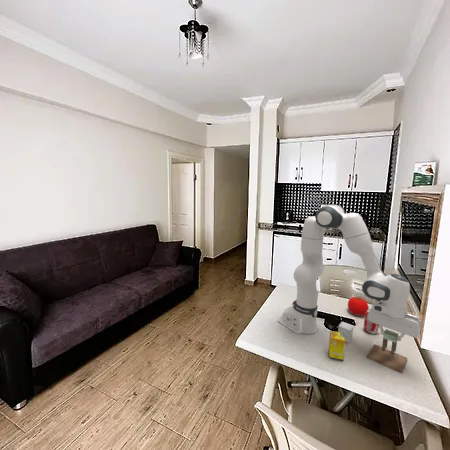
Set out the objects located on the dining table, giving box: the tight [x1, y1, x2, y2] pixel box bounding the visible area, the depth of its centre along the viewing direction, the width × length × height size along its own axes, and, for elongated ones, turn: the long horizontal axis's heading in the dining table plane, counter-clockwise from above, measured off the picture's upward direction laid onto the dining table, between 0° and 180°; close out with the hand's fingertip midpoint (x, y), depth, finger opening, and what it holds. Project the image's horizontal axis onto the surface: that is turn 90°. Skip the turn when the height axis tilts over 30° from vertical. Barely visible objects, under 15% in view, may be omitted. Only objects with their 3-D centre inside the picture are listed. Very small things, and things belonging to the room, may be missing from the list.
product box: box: [337, 321, 354, 344], centre depth 133 cm, size 6×6×7 cm
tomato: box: [347, 296, 369, 316], centre depth 159 cm, size 11×12×10 cm
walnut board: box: [366, 343, 408, 374], centre depth 119 cm, size 14×12×1 cm
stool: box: [381, 328, 400, 355], centre depth 117 cm, size 5×5×9 cm
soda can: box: [363, 308, 380, 335], centre depth 139 cm, size 7×7×12 cm
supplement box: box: [327, 330, 346, 362], centre depth 119 cm, size 6×6×11 cm
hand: (390, 337), depth 117 cm, fingers closed on stool, 5 cm apart
